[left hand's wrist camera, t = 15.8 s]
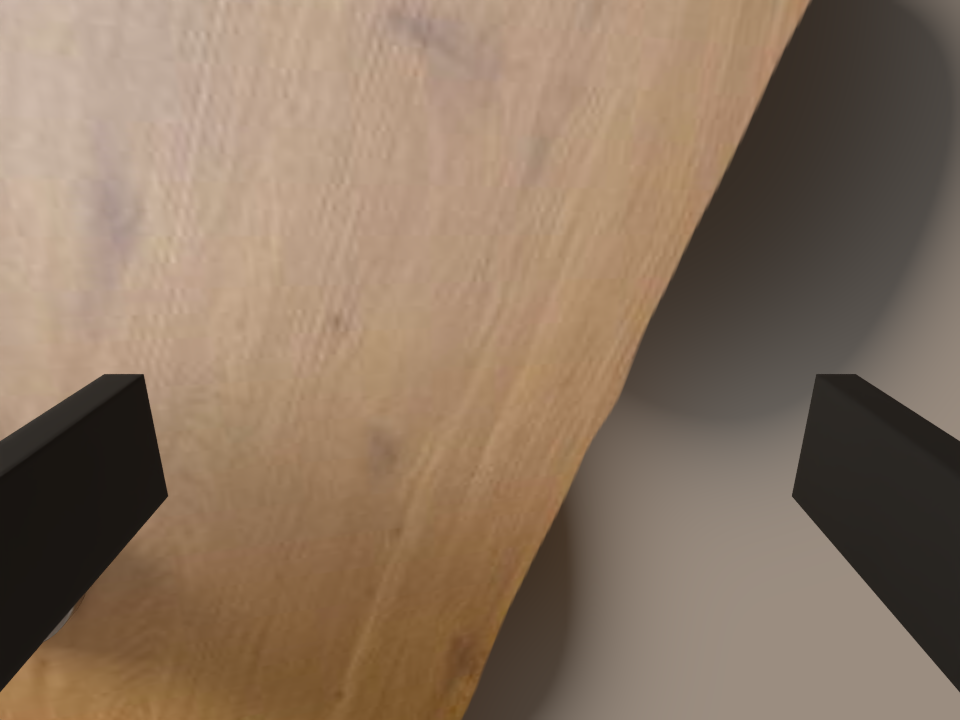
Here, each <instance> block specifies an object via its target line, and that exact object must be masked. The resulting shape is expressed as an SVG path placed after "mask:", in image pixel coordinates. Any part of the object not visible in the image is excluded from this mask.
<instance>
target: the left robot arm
mask: <svg viewBox="0 0 960 720" xmlns="http://www.w3.org/2000/svg"><path fill="white" fill-rule="evenodd" d="M167 497H168V493H167V488H166V483H165V478H164V473H163V468H162V463H161V458H160V454H159V449H158V444H157V439H156V434H155V429H154V424H153V419H152V414H151V409H150V404H149V399H148V394H147V389H146V384H145V379H144V374H104V375H102V376H101V377H99V378H98V379H96V380H95V381H93V382H91V383H90V384H88V385H87V386H85V387H84V388H82V389H81V390H79V391H78V392H76V393H74V394H73V395H71V396H70V397H68V398H67V399H65V400H64V401H62V402H60V403H59V404H57V405H56V406H54V407H53V408H51V409H50V410H48V411H46V412H45V413H43V414H42V415H40V416H39V417H37V418H36V419H34V420H32V421H31V422H29V423H28V424H26V425H25V426H23V427H22V428H20V429H19V430H17V431H15V432H14V433H12V434H11V435H9V436H8V437H6V438H5V439H3V440H1V441H0V692H1V691H2V689H3V688H4V687H5V686H6V685H7V684H8V682H9V681H10V680H11V679H12V678H13V677H14V675H15V674H16V673H17V672H18V671H19V670H20V668H21V667H22V666H23V665H24V664H25V663H26V661H27V660H28V659H29V658H30V657H31V656H32V654H33V653H34V652H35V651H36V650H37V649H38V647H39V646H40V645H41V644H42V643H43V642H44V641H46V640H48V639H49V638H51V637H52V636H53V635H54V634H56V633H57V632H58V631H59V630H60V629H61V628H62V626H63V625H64V624H65V623H66V622H67V621H68V619H69V618H70V617H71V616H72V615H73V613H74V612H75V611H76V610H77V608H78V607H79V606H80V604H81V602H82V600H83V598H84V595H85V593H86V591H87V590H88V589H89V588H90V587H91V586H92V584H93V583H94V582H95V581H96V580H97V579H98V577H99V576H100V575H101V574H102V573H103V572H104V570H105V569H106V568H107V567H108V566H109V565H110V563H111V562H112V561H113V560H114V559H115V558H116V556H117V555H118V554H119V553H120V552H121V551H122V549H123V548H124V547H125V546H126V545H127V544H128V542H129V541H130V540H131V539H132V538H133V537H134V535H135V534H136V533H137V532H138V531H139V530H140V528H141V527H142V526H143V525H144V524H145V523H146V521H147V520H148V519H149V518H150V517H151V516H152V514H153V513H154V512H155V511H156V510H157V509H158V507H159V506H160V505H161V504H162V503H163V502H164V500H165V499H166V498H167ZM792 497H793V498H794V499H795V500H796V502H797V503H798V504H799V505H800V506H801V507H802V509H803V510H804V511H805V512H806V513H807V514H808V516H809V517H810V518H811V519H812V520H813V521H814V523H815V524H816V525H817V526H818V527H819V528H820V530H821V531H822V532H823V533H824V534H825V535H826V537H827V538H828V539H829V540H830V541H831V542H832V544H833V545H834V546H835V547H836V548H837V549H838V551H839V552H840V553H841V554H842V555H843V556H844V558H845V559H846V560H847V561H848V562H849V563H850V565H851V566H852V567H853V568H854V569H855V570H856V572H857V573H858V574H859V575H860V576H861V577H862V579H863V580H864V581H865V582H866V583H867V584H868V586H869V587H870V588H871V589H872V590H873V591H874V593H875V594H876V595H877V596H878V597H879V598H880V600H881V601H882V602H883V603H884V604H885V605H886V606H887V608H888V609H889V610H890V611H891V612H892V614H893V615H894V616H895V617H896V618H897V619H898V621H899V622H900V623H901V624H902V625H903V626H904V628H905V629H906V630H907V631H908V632H909V633H910V635H911V636H912V637H913V638H914V639H915V640H916V642H917V643H918V644H919V645H920V646H921V647H922V649H923V650H924V651H925V652H926V653H927V654H928V656H929V657H930V658H931V659H932V660H933V661H934V663H935V664H936V665H937V666H938V667H939V668H940V670H941V671H942V672H943V673H944V674H945V675H946V677H947V678H948V679H949V680H950V681H951V682H952V684H953V685H954V686H955V687H956V688H957V689H958V691H959V692H960V441H958V440H957V439H955V438H954V437H952V436H951V435H949V434H948V433H946V432H945V431H943V430H941V429H940V428H938V427H937V426H935V425H934V424H932V423H931V422H929V421H927V420H926V419H924V418H923V417H921V416H920V415H918V414H917V413H915V412H914V411H912V410H910V409H909V408H907V407H906V406H904V405H903V404H901V403H899V402H898V401H896V400H895V399H893V398H892V397H890V396H889V395H887V394H886V393H884V392H882V391H881V390H879V389H878V388H876V387H875V386H873V385H872V384H870V383H868V382H867V381H865V380H864V379H862V378H861V377H859V376H858V375H856V374H817V375H816V379H815V384H814V389H813V394H812V399H811V404H810V409H809V414H808V419H807V424H806V429H805V434H804V439H803V444H802V449H801V454H800V459H799V463H798V469H797V473H796V478H795V483H794V488H793V493H792Z"/></svg>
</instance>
